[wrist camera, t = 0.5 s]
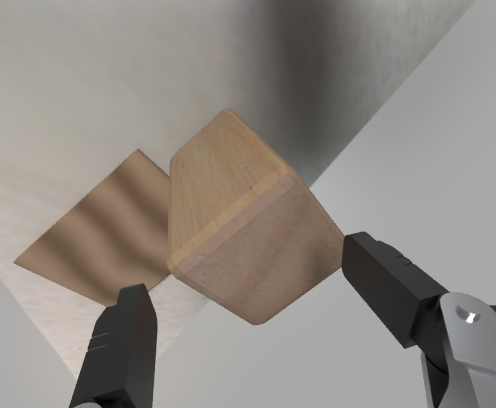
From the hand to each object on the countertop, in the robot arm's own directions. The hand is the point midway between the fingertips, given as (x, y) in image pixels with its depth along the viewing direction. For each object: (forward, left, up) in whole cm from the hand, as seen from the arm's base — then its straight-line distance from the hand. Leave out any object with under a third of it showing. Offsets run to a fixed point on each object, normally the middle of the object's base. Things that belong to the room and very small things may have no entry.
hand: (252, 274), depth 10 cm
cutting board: (+18, +5, -25) cm, 31 cm away
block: (+1, +5, -25) cm, 26 cm away
